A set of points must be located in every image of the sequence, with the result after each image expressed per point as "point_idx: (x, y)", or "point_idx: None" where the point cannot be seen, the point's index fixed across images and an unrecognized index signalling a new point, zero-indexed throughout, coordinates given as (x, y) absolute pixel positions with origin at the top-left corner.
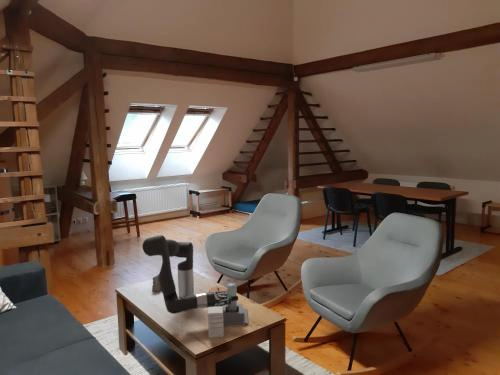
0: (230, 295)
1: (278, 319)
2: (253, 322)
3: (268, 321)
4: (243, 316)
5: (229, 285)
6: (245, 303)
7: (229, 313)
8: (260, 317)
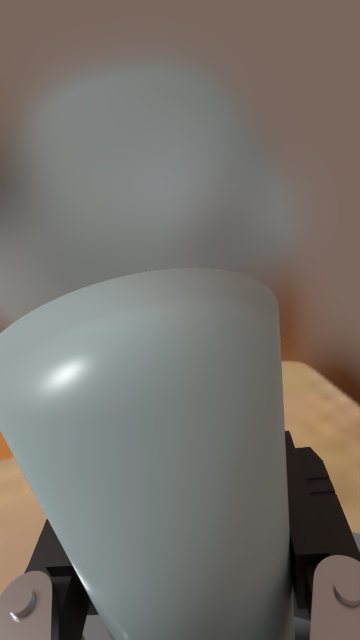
0: (284, 550)
1: (308, 369)
2: (350, 497)
3: (332, 410)
4: None
5: (151, 353)
6: (22, 486)
7: None
8: None
